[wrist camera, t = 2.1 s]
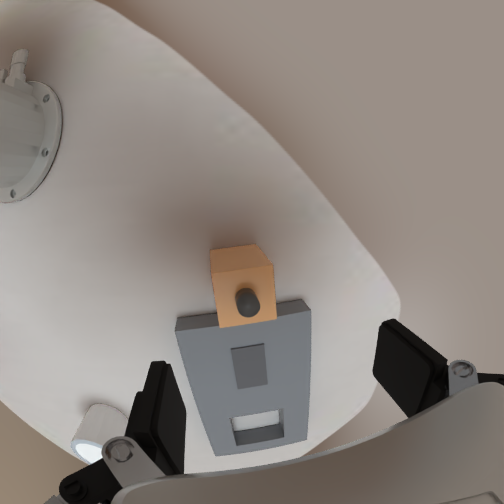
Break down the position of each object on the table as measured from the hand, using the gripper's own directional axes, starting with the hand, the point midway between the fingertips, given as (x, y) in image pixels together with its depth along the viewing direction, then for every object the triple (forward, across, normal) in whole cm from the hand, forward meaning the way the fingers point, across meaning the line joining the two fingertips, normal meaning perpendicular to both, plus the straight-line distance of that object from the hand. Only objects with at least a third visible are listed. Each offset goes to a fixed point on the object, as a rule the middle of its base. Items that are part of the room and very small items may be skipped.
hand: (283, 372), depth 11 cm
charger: (+14, +1, -1) cm, 14 cm away
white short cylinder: (+14, +20, +17) cm, 30 cm away
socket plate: (+14, +1, +13) cm, 20 cm away
